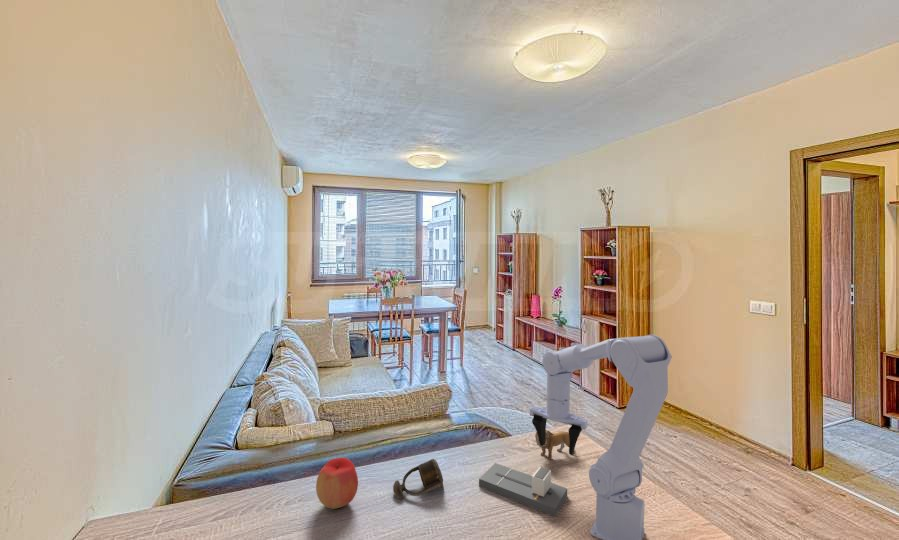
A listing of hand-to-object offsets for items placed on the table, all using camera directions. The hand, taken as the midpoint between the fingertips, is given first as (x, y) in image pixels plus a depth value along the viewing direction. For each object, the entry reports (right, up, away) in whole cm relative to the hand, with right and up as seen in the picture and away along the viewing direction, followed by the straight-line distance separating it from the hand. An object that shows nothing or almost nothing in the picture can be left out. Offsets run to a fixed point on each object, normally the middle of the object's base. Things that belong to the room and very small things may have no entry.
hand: (556, 448), depth 100 cm
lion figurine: (+3, -9, +14) cm, 17 cm away
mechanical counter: (-36, -10, -2) cm, 37 cm away
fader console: (-9, -10, -3) cm, 14 cm away
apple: (-54, -10, -9) cm, 56 cm away
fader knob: (-5, -7, -6) cm, 11 cm away
